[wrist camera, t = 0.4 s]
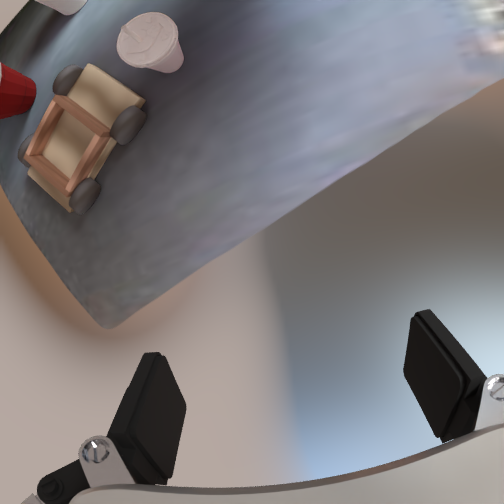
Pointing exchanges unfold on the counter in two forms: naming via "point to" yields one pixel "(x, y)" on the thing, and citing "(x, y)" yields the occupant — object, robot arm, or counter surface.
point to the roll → (64, 5)
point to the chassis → (80, 134)
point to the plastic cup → (15, 92)
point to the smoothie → (151, 43)
